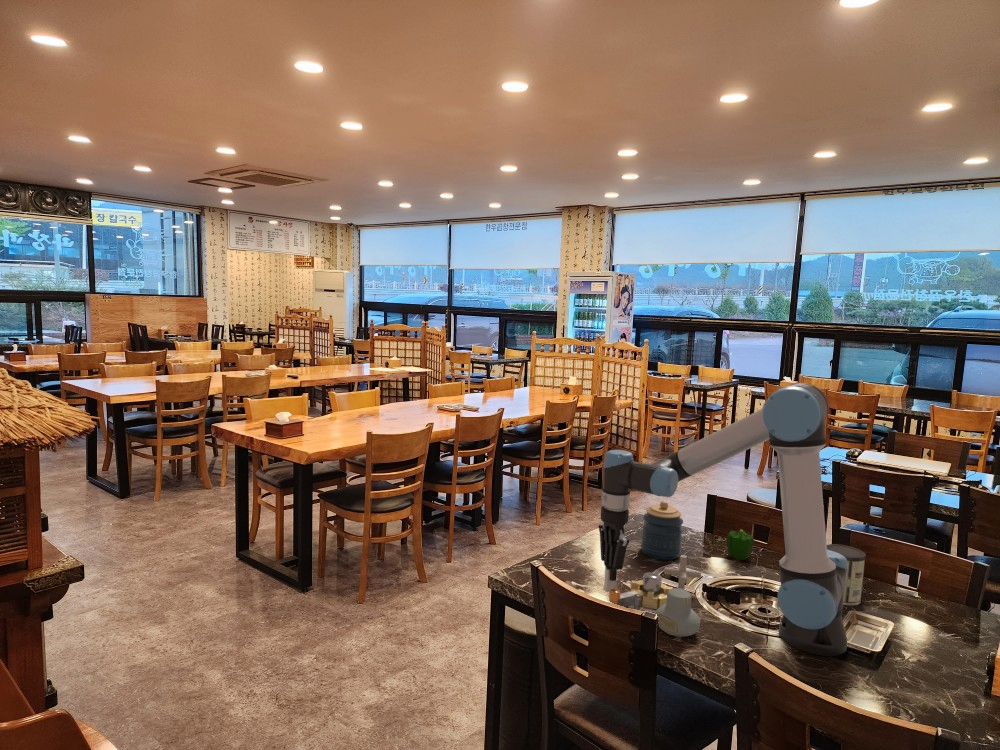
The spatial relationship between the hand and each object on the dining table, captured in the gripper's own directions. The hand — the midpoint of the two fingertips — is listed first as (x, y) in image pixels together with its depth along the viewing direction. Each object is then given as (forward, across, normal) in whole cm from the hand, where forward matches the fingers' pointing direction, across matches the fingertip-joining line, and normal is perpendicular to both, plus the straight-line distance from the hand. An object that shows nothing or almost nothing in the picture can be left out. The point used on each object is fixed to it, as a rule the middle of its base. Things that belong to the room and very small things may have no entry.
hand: (609, 589), depth 169 cm
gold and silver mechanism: (+3, +6, +6) cm, 9 cm away
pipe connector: (+3, 0, +24) cm, 24 cm away
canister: (+3, -26, +34) cm, 42 cm away
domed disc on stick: (+1, +6, +6) cm, 8 cm away
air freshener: (+3, +19, +8) cm, 21 cm away
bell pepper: (+3, -16, +58) cm, 60 cm away
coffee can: (+3, +15, +67) cm, 69 cm away
